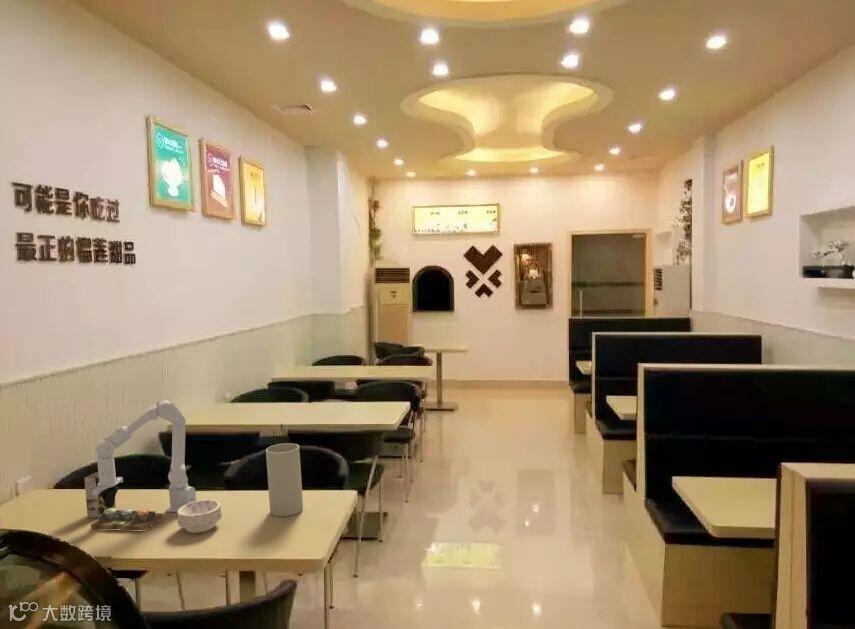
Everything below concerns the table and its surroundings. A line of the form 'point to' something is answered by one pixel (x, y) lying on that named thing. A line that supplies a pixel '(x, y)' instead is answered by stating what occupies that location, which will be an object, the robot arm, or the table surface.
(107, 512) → the sage button
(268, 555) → the table surface
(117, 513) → the console
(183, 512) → the paper bowls
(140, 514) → the terracotta button
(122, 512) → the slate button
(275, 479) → the cylinder vase
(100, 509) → the coffee box
